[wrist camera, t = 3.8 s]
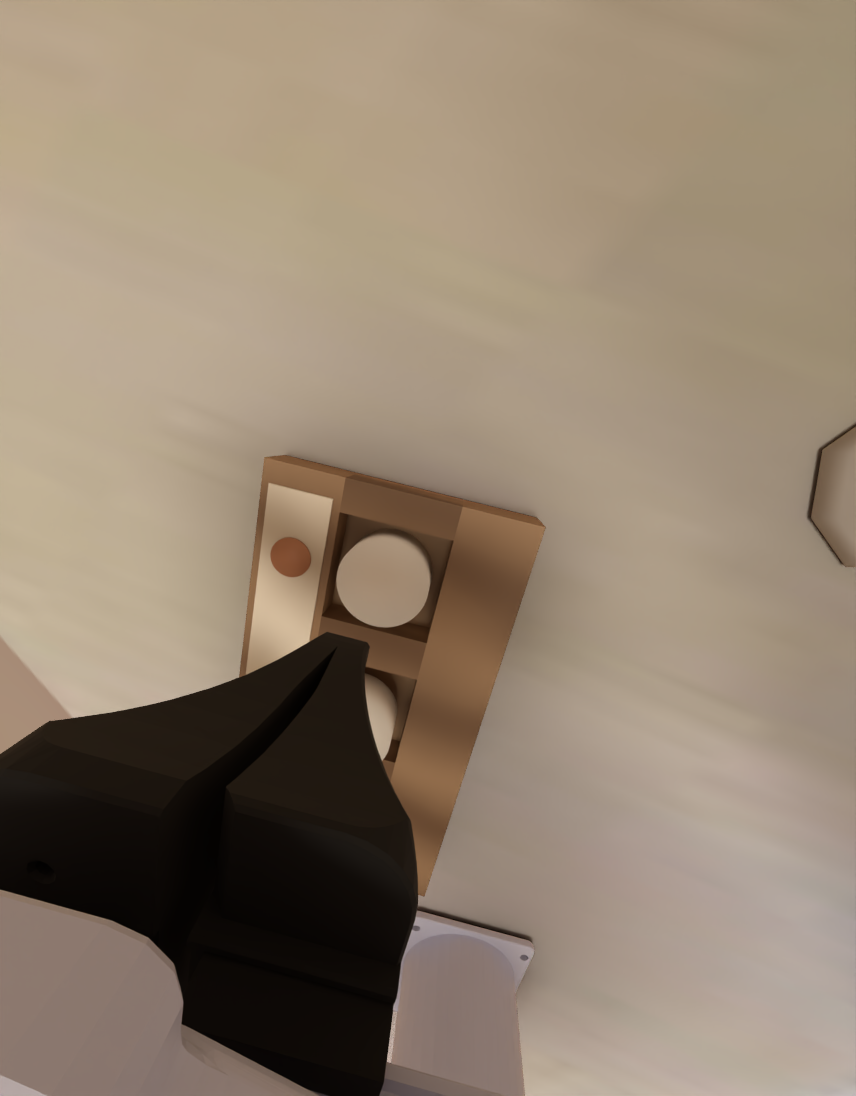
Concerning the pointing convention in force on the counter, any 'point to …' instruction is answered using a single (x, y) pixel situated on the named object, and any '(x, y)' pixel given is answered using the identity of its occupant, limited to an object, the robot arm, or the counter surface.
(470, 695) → the board
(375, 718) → the middle button
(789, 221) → the counter surface
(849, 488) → the flask
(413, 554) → the button
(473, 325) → the counter surface
